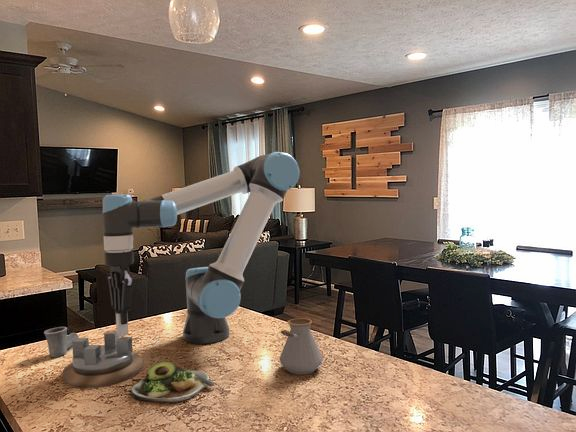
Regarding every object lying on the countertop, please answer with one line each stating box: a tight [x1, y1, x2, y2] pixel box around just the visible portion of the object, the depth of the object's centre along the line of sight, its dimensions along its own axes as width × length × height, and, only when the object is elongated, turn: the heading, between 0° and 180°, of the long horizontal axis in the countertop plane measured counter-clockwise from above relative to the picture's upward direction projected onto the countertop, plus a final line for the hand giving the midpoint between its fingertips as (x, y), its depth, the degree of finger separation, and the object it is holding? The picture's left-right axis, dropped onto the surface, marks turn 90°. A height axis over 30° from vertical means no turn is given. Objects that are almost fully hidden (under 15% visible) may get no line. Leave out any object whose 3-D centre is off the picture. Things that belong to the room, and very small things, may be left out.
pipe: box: [43, 326, 79, 358], centre depth 140 cm, size 6×13×8 cm, turn 174°
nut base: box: [62, 352, 144, 389], centre depth 124 cm, size 20×20×2 cm
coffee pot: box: [276, 317, 324, 375], centre depth 117 cm, size 21×12×15 cm, turn 162°
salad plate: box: [130, 360, 216, 403], centre depth 113 cm, size 19×18×5 cm
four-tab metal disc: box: [71, 329, 134, 375], centre depth 123 cm, size 15×15×7 cm
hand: (122, 334), depth 127 cm, fingers closed
